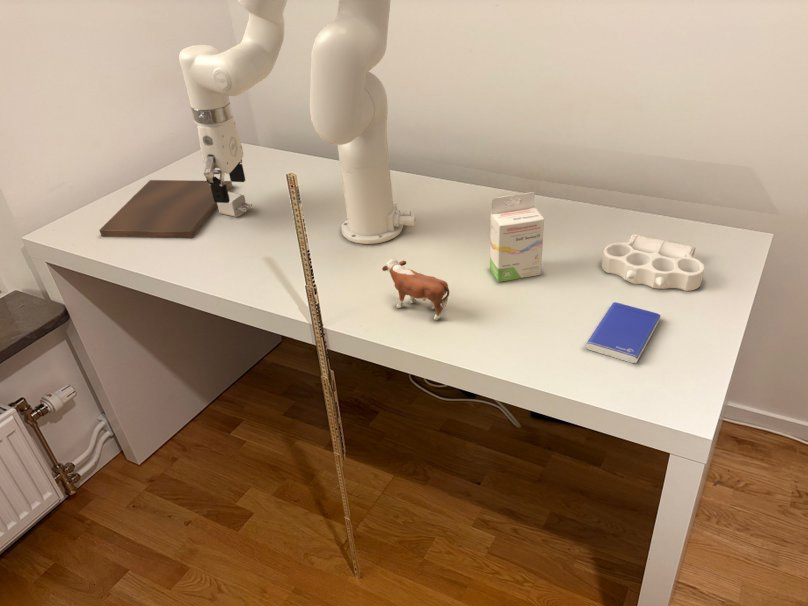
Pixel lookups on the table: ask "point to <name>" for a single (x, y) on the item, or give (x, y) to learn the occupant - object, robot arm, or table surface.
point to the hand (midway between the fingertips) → (230, 191)
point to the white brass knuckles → (654, 263)
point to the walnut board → (164, 210)
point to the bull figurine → (417, 286)
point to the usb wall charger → (234, 205)
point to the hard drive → (623, 332)
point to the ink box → (516, 237)
